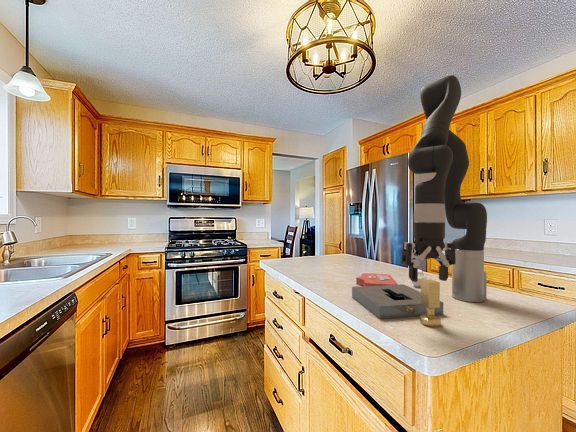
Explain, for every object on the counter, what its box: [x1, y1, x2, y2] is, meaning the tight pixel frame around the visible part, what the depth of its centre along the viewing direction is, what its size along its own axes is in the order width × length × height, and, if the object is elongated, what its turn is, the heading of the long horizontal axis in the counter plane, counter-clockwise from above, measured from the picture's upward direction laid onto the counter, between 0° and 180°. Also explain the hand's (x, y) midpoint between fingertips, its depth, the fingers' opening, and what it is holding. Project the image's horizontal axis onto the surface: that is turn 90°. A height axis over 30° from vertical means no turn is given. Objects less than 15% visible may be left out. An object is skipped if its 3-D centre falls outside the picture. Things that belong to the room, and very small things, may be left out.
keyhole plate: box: [351, 283, 444, 320], centre depth 86 cm, size 20×20×4 cm
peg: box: [419, 278, 442, 328], centre depth 72 cm, size 5×5×12 cm
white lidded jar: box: [411, 268, 428, 288], centre depth 109 cm, size 6×6×7 cm
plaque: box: [355, 272, 398, 287], centre depth 111 cm, size 18×4×15 cm
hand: (428, 280), depth 72 cm, fingers open, 8 cm apart
